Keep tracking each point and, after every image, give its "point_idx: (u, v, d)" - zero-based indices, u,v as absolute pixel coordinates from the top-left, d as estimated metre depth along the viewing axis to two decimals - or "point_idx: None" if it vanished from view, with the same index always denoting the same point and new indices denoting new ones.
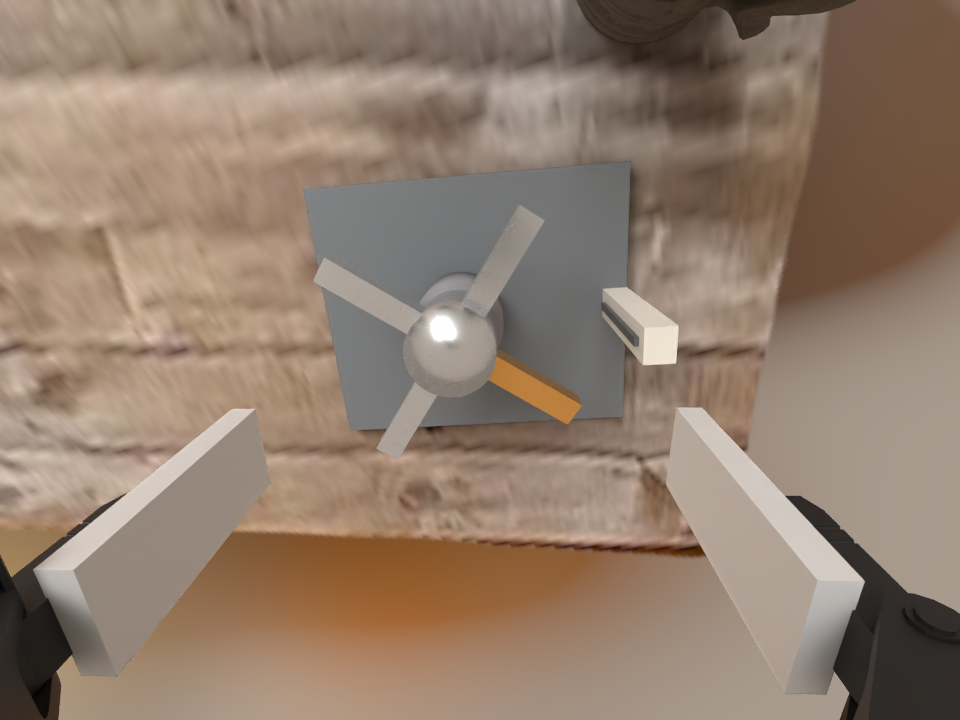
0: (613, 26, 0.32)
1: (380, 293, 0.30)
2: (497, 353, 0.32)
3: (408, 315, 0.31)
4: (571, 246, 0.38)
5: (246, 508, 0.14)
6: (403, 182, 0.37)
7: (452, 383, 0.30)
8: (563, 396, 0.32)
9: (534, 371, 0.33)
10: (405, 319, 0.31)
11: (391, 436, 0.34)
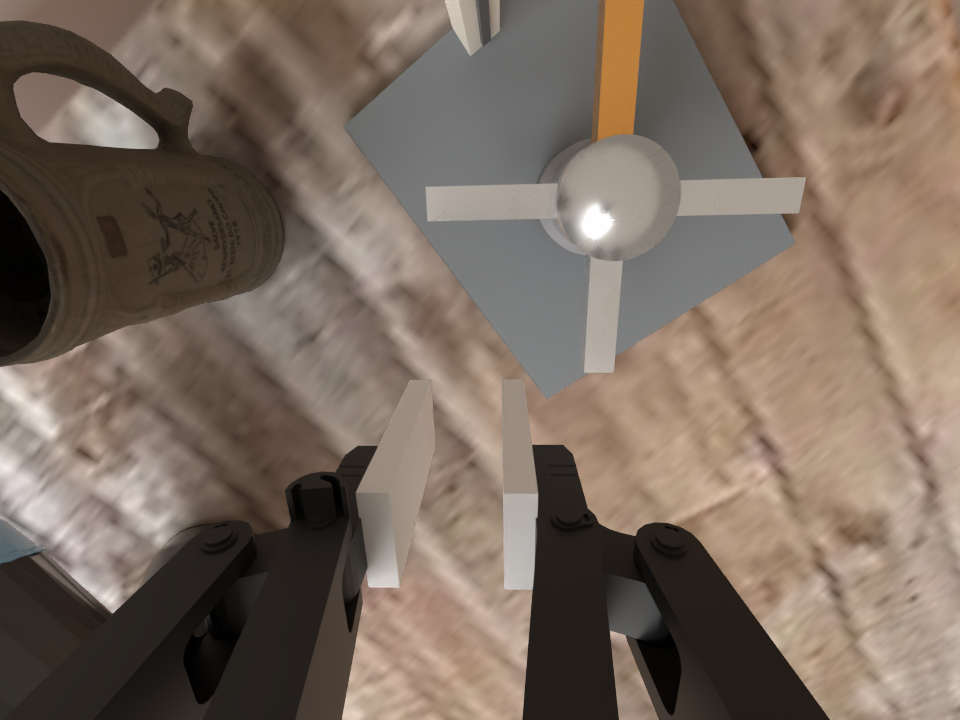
0: (270, 221, 0.35)
1: (591, 305, 0.27)
2: (595, 139, 0.24)
3: (600, 266, 0.26)
4: (450, 127, 0.32)
5: (429, 466, 0.16)
6: (491, 322, 0.37)
7: (654, 174, 0.22)
8: (607, 11, 0.22)
9: (596, 75, 0.24)
10: (606, 267, 0.26)
11: (771, 203, 0.24)
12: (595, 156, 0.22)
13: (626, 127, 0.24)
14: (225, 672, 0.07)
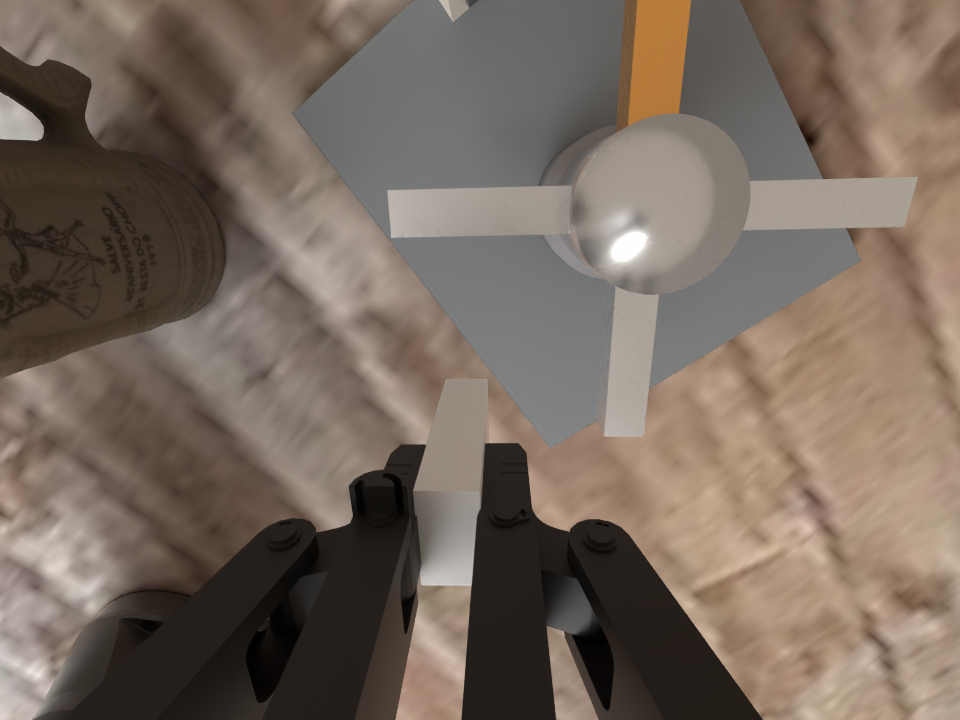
0: (204, 233, 0.28)
1: (615, 350, 0.20)
2: (623, 124, 0.17)
3: (628, 298, 0.19)
4: (428, 114, 0.25)
5: None
6: (482, 357, 0.30)
7: (713, 172, 0.16)
8: None
9: (624, 34, 0.17)
10: (637, 299, 0.19)
11: (867, 212, 0.18)
12: (628, 146, 0.15)
13: (669, 106, 0.17)
14: (288, 665, 0.07)
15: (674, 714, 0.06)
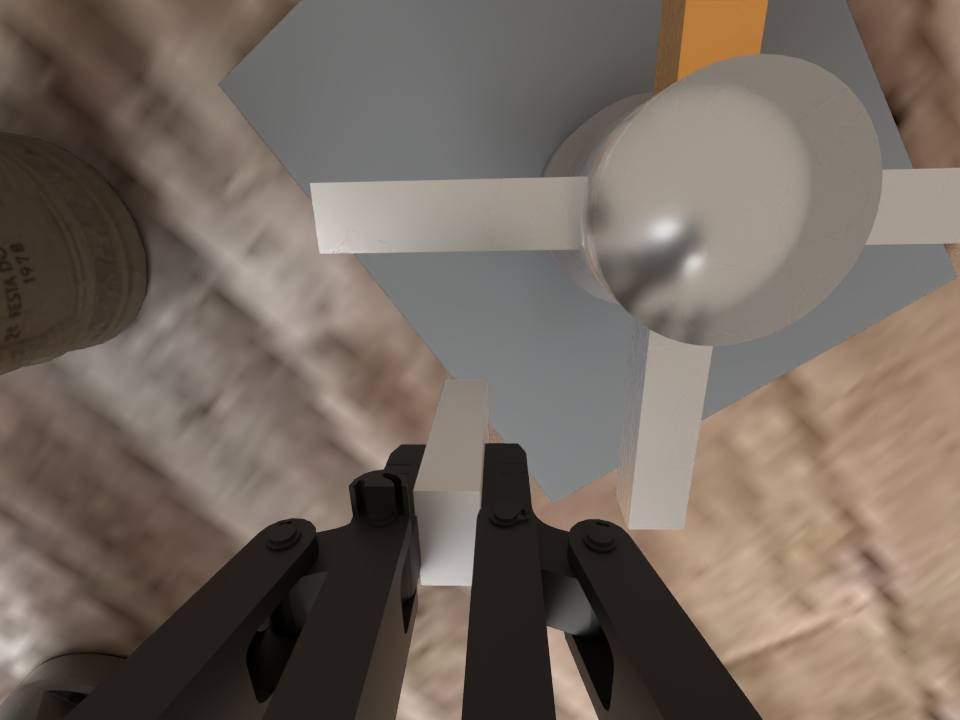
0: (115, 238, 0.22)
1: (648, 415, 0.14)
2: (667, 83, 0.11)
3: (669, 343, 0.13)
4: (395, 85, 0.19)
5: None
6: None
7: (823, 154, 0.10)
8: None
9: None
10: (681, 345, 0.13)
11: None
12: (685, 110, 0.09)
13: (743, 51, 0.11)
14: (287, 665, 0.07)
15: (674, 714, 0.06)
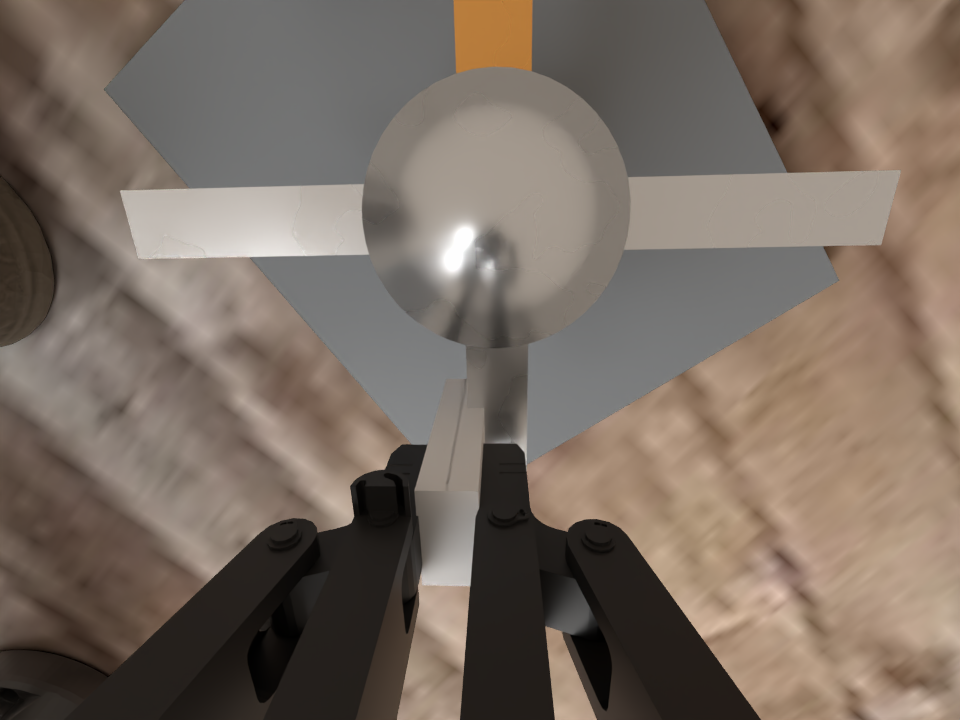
0: (14, 240, 0.22)
1: None
2: None
3: None
4: (276, 90, 0.20)
5: None
6: (371, 394, 0.24)
7: (569, 163, 0.10)
8: None
9: None
10: None
11: (825, 224, 0.12)
12: (430, 121, 0.10)
13: (516, 62, 0.11)
14: (289, 665, 0.07)
15: (672, 714, 0.06)
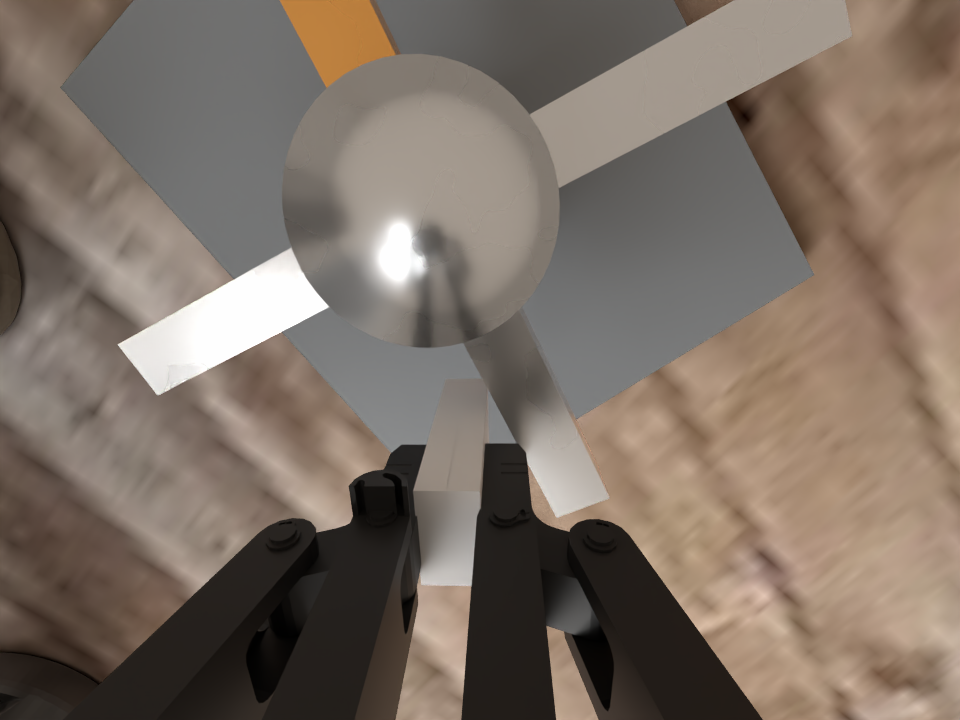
0: None
1: (506, 408, 0.14)
2: None
3: (483, 337, 0.13)
4: (234, 86, 0.19)
5: None
6: (342, 394, 0.24)
7: (460, 124, 0.09)
8: None
9: None
10: (495, 333, 0.13)
11: (774, 47, 0.10)
12: (317, 153, 0.10)
13: (379, 59, 0.11)
14: (288, 665, 0.07)
15: (674, 714, 0.06)
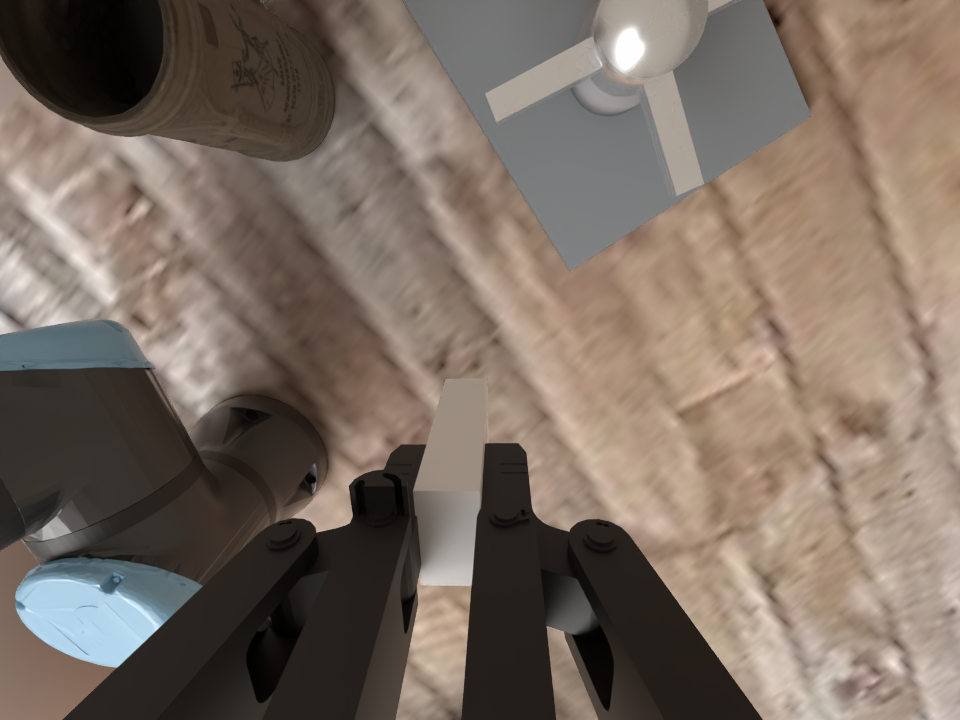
0: (324, 84, 0.38)
1: (661, 131, 0.29)
2: None
3: (656, 91, 0.29)
4: None
5: None
6: (522, 191, 0.40)
7: None
8: None
9: None
10: (661, 89, 0.28)
11: None
12: None
13: None
14: (287, 665, 0.07)
15: (674, 714, 0.06)
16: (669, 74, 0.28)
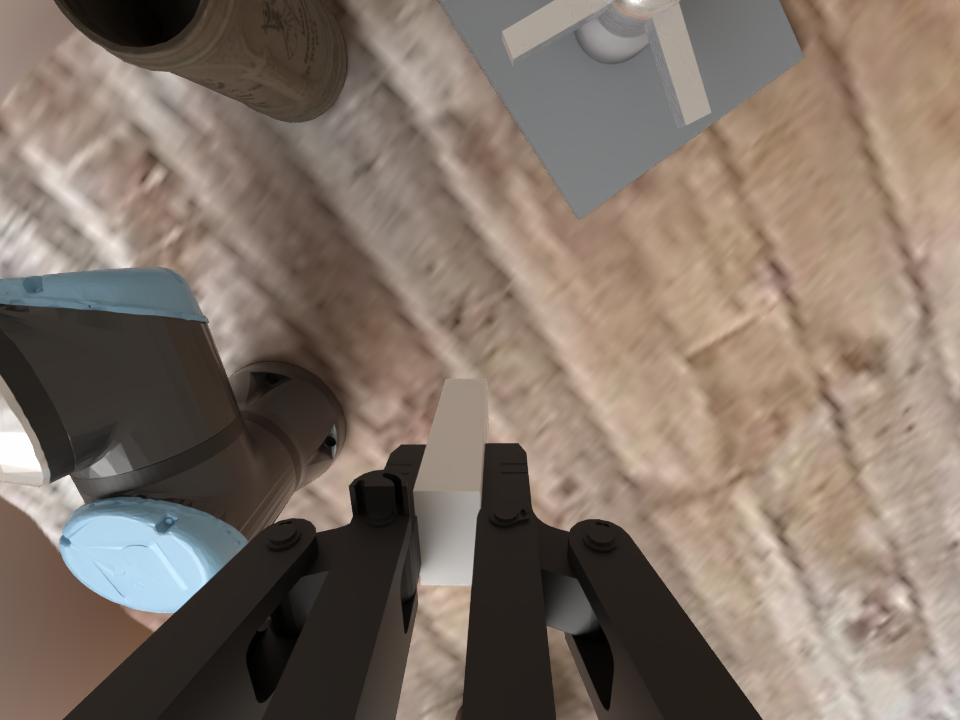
0: (338, 42, 0.39)
1: (669, 62, 0.31)
2: None
3: (664, 23, 0.30)
4: None
5: None
6: (532, 141, 0.41)
7: None
8: None
9: None
10: (669, 21, 0.30)
11: None
12: None
13: None
14: (288, 665, 0.07)
15: (674, 714, 0.06)
16: (676, 6, 0.30)
